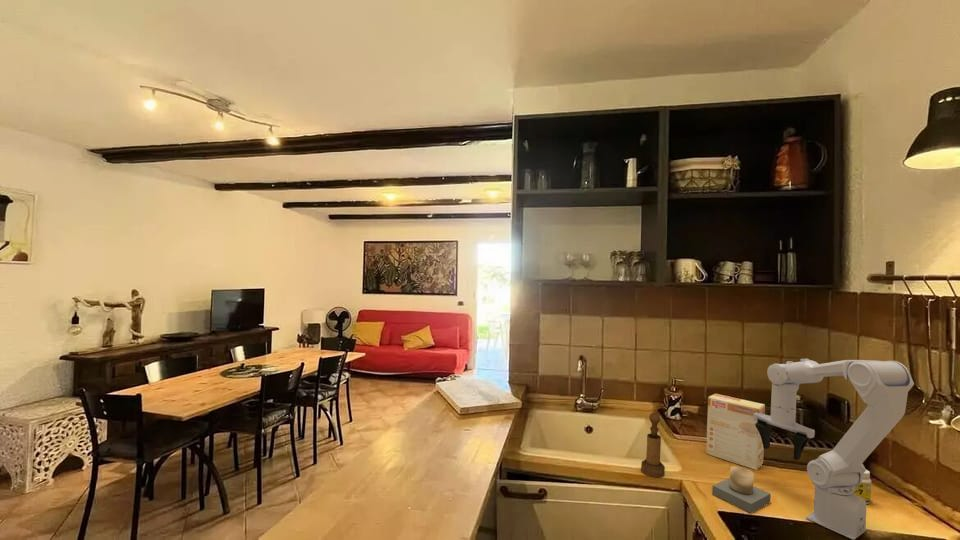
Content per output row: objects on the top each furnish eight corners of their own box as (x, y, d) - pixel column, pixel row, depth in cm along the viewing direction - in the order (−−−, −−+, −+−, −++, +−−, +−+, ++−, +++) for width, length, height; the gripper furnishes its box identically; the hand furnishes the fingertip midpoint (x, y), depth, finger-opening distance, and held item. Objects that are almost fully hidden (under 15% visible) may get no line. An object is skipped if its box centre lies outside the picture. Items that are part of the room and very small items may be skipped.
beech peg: (756, 500, 113) (757, 473, 113) (746, 506, 110) (747, 478, 110) (735, 491, 117) (736, 464, 117) (725, 496, 115) (726, 469, 114)
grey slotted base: (770, 502, 112) (770, 493, 112) (750, 513, 107) (751, 503, 107) (732, 485, 120) (732, 476, 120) (712, 494, 115) (712, 485, 115)
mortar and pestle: (650, 478, 123) (652, 418, 123) (636, 468, 129) (638, 410, 129) (669, 476, 125) (671, 416, 125) (654, 465, 131) (656, 409, 131)
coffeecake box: (763, 464, 134) (765, 404, 134) (757, 471, 129) (759, 408, 129) (713, 448, 145) (715, 392, 145) (705, 453, 141) (707, 396, 140)
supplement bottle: (842, 496, 116) (844, 466, 116) (853, 493, 118) (854, 464, 118) (863, 506, 112) (865, 475, 111) (874, 503, 113) (875, 472, 113)
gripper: (820, 412, 114) (818, 461, 114) (762, 396, 127) (760, 440, 127) (808, 416, 111) (806, 467, 111) (750, 399, 123) (748, 445, 123)
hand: (781, 453), depth 119 cm, fingers open, 7 cm apart
